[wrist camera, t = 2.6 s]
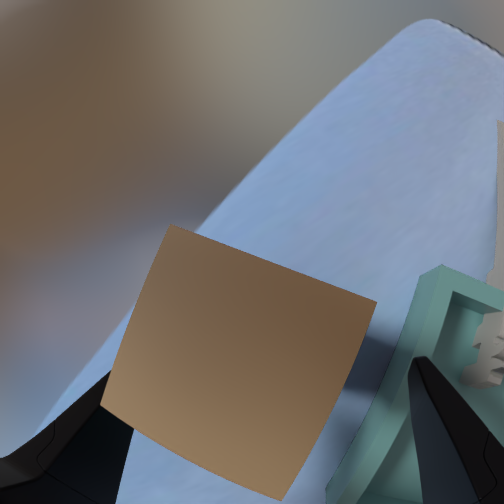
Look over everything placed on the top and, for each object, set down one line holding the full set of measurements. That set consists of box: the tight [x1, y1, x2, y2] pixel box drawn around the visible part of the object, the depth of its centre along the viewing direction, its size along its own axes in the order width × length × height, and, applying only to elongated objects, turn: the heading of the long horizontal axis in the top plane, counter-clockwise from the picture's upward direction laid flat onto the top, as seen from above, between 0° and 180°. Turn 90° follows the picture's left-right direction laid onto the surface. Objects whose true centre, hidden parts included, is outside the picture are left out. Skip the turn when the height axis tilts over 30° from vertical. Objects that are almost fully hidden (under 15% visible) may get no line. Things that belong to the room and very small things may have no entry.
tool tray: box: [326, 265, 504, 504], centre depth 12 cm, size 14×14×4 cm
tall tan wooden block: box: [100, 224, 377, 501], centre depth 11 cm, size 6×4×14 cm
